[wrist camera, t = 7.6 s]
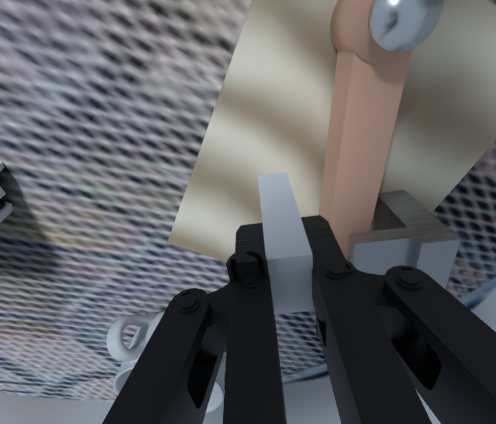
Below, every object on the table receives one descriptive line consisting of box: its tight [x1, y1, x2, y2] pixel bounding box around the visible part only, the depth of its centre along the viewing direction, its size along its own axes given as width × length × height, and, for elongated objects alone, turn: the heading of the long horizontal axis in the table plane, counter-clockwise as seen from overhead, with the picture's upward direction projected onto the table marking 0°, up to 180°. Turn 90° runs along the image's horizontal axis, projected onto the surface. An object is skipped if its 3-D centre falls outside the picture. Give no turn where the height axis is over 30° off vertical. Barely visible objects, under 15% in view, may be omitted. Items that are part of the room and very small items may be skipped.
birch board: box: [167, 0, 496, 262], centre depth 23 cm, size 26×21×1 cm
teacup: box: [107, 311, 226, 413], centre depth 30 cm, size 14×11×8 cm
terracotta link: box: [319, 0, 415, 260], centre depth 20 cm, size 21×4×4 cm, turn 2°
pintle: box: [368, 0, 444, 52], centre depth 14 cm, size 3×3×1 cm
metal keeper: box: [347, 190, 461, 289], centre depth 23 cm, size 6×6×7 cm
